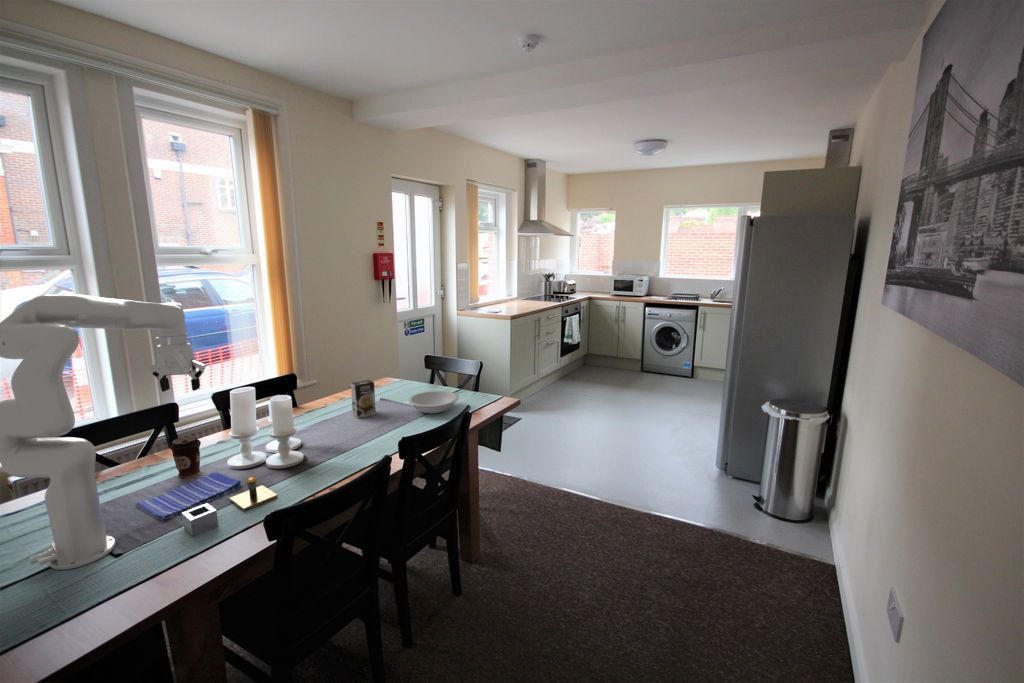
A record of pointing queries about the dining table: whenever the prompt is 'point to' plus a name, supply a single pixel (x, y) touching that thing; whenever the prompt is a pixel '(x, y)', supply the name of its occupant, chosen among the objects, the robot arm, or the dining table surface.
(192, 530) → the white box block
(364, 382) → the coffee box
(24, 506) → the dining table surface
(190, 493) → the dish towel
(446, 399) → the soup bowl
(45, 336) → the robot arm
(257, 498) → the post
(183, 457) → the coffee cup
